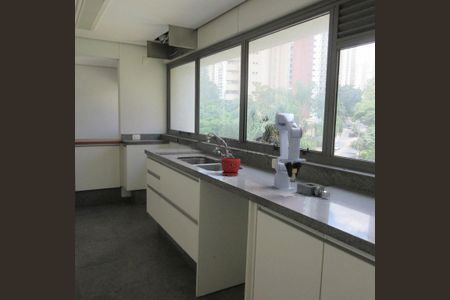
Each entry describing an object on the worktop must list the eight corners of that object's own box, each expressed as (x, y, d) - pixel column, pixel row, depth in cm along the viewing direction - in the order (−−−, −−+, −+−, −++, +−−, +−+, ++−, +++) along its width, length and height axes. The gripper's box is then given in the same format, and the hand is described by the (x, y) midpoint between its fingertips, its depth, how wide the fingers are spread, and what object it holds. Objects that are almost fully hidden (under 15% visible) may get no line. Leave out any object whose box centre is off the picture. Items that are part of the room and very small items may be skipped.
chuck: (296, 192, 173) (297, 183, 173) (311, 191, 177) (311, 182, 177) (320, 200, 157) (320, 190, 156) (335, 199, 161) (335, 189, 161)
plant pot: (237, 177, 214) (237, 159, 213) (218, 175, 218) (219, 158, 217) (242, 174, 227) (242, 157, 226) (224, 173, 231) (225, 156, 230)
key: (288, 181, 166) (289, 168, 166) (292, 181, 168) (293, 168, 167) (291, 182, 164) (292, 169, 163) (296, 182, 165) (296, 168, 164)
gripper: (287, 151, 158) (285, 178, 159) (310, 151, 164) (308, 177, 165) (278, 150, 164) (277, 176, 165) (301, 150, 170) (300, 175, 171)
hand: (292, 176), depth 166 cm, fingers closed on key, 3 cm apart
